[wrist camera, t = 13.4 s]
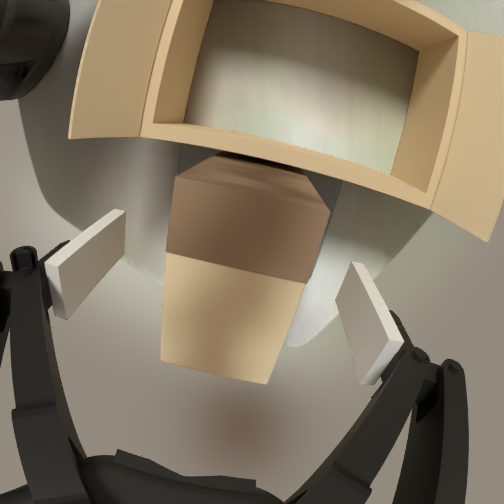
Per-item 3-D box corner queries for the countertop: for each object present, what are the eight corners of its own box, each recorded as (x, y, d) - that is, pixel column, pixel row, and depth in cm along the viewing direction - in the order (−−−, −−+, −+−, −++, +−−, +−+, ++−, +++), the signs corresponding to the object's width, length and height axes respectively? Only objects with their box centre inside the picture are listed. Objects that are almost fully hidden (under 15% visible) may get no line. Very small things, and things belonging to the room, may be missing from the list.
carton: (143, 128, 23) (65, 138, 13) (180, -15, 17) (130, -74, 7) (418, 197, 24) (489, 243, 14) (450, 60, 18) (528, 45, 8)
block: (207, 253, 28) (160, 360, 15) (227, 148, 23) (175, 176, 11) (270, 268, 28) (266, 385, 15) (298, 164, 24) (330, 212, 11)
